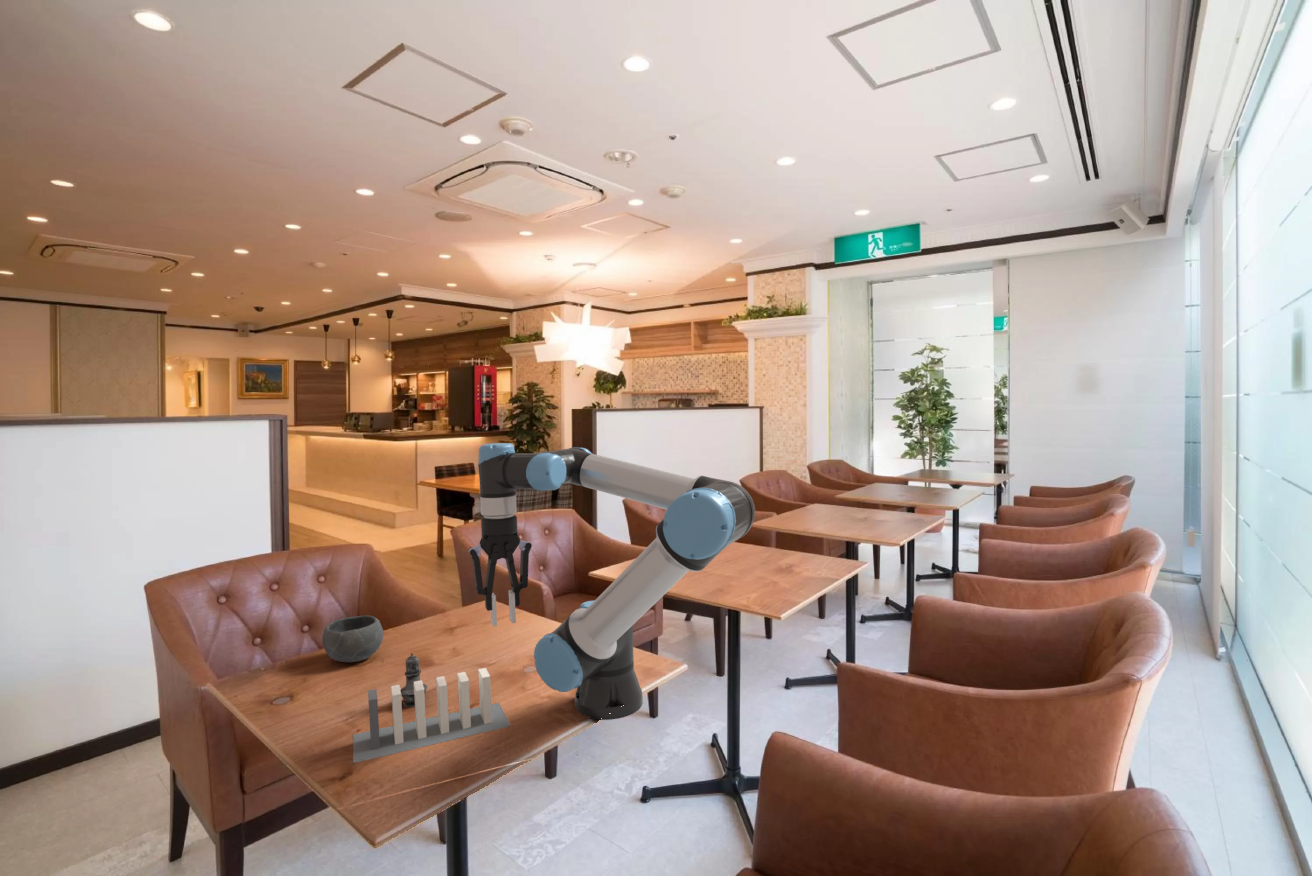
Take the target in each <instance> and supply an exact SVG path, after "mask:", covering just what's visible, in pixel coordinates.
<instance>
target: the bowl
mask: <svg viewBox="0 0 1312 876" xmlns="http://www.w3.org/2000/svg"><path fill="white" fill-rule="evenodd" d="M321 640H322V646H323V649H324V651H325V652H326V655H327V656H328V657H329V658H331V660H332V659H333V661H337V662H340V663H348V664H349V663H355V662H356V663H357V662H361V661H365V660H366V659H368V658H370V657H371V656H373V655H374V654H375V653H377V652H378V650H379V648H380V646H381V645H382V643H383V640H384V629H383V627H382V624H381V621H380V620H379V619H378V618H377V617H375V616H373V615H356V616H350V617H349V616H348V617H343V618H340V619H337V620H335V621H332V622H330V623H329V624H327V625H326V627H325V628H324V630H323V634H322V639H321Z"/></svg>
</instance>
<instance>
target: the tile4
mask: <svg viewBox="0 0 1312 876" xmlns="http://www.w3.org/2000/svg"><path fill="white" fill-rule="evenodd" d="M423 684H424V683H423V680H422V679H420V681H415V682H414V697H415V707H414V713H415V714H414V715H415V716H414V717H415V721H416V730H417V735H418V739H421V738H426V737H427V736H426V719H427V717H426V716H427V715H426V699H425V698H426V697H425V695H426V693H425V694H424V686H423Z"/></svg>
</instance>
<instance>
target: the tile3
mask: <svg viewBox="0 0 1312 876" xmlns="http://www.w3.org/2000/svg"><path fill="white" fill-rule="evenodd" d="M435 678H436V679H435V682H436V683H435V685H436V701H437V704H436V706H437V716H438V724H439V728H440V732H441V734H444V733H448V732H449V716H448V714H449V700H448V699H449V697H448V684H447V681H446V678H445V676H444V675H441V676H437V677H435Z"/></svg>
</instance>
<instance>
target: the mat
mask: <svg viewBox="0 0 1312 876" xmlns="http://www.w3.org/2000/svg"><path fill="white" fill-rule="evenodd" d="M491 707H492V722H491V723H487V724H484V722H483V719H482V717H481V715H480V706H477V707H473V708H470V716H471V727H470V728H465V729H463V727H462V724H461V722H460V718H459V711H454V712H451V713H448V716H449V732H448V733H444V734H441V732H440V728H439V724H438V715H436V716H432V717H431V716H430V717H428V718H427V717H426V736H427V737H426V738H421V739H418V735H417V730H416V720H414V721H413V720H412V721H410V722H405V723H403V740H404V743H400V744H395V740H394V732H393V725H392V726H386V727H382V728H379V739H380V748H378V749H374V750H371V739H370V730H368V731H367V730H366V731H363V732H358V733H354V734H352V746H353V747H352V750H353V753H352V762H353V763H352V764H357V763H360V762H365V761H369V760H373V759H378V758H382V757H385V756H390V755H395V754H397V753H398V754H399V753H402V752H403V753H404V752H407V751H412V750H415V749H419V748H424V747H428V746H431V745H436V744H442V743H446V742H449V741H455V740H458V739H462V738H467V737H470V736H475V735H479V734H480V735H481V734H483V733H484V734H485V733H488V732H492V731H496V730H500V729H504V728H509V727H512V725H511V723H510V722H509V719H508V718H507V716H506V713H505V711H504V709H503V708H502V705H501V704H500V702H497V703H496V702H495V703H491Z"/></svg>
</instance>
